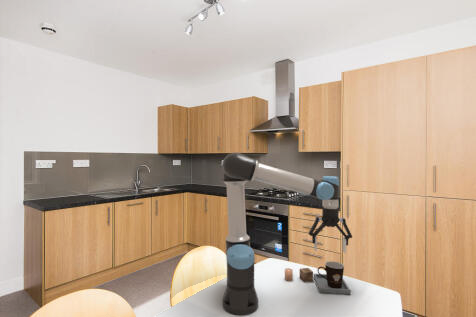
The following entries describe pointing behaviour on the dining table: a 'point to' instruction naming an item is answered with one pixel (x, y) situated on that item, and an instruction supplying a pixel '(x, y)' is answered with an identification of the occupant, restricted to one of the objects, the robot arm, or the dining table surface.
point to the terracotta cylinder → (288, 274)
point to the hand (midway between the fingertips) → (329, 251)
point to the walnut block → (306, 275)
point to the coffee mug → (333, 274)
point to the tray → (326, 289)
